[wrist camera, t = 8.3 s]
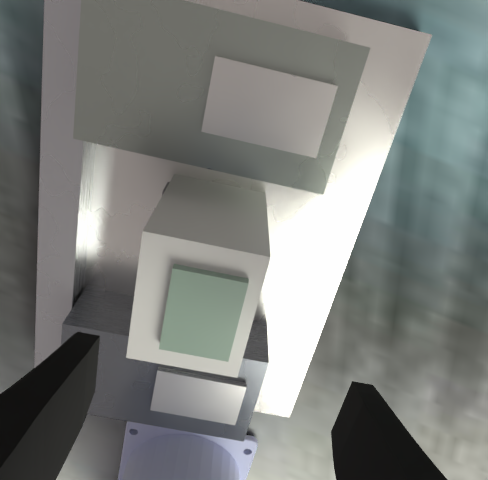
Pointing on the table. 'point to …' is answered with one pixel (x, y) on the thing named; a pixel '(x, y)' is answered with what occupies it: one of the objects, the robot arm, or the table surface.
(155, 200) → the board
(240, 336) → the block
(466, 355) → the table surface
